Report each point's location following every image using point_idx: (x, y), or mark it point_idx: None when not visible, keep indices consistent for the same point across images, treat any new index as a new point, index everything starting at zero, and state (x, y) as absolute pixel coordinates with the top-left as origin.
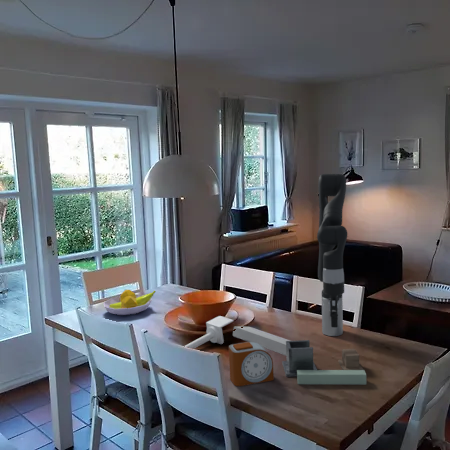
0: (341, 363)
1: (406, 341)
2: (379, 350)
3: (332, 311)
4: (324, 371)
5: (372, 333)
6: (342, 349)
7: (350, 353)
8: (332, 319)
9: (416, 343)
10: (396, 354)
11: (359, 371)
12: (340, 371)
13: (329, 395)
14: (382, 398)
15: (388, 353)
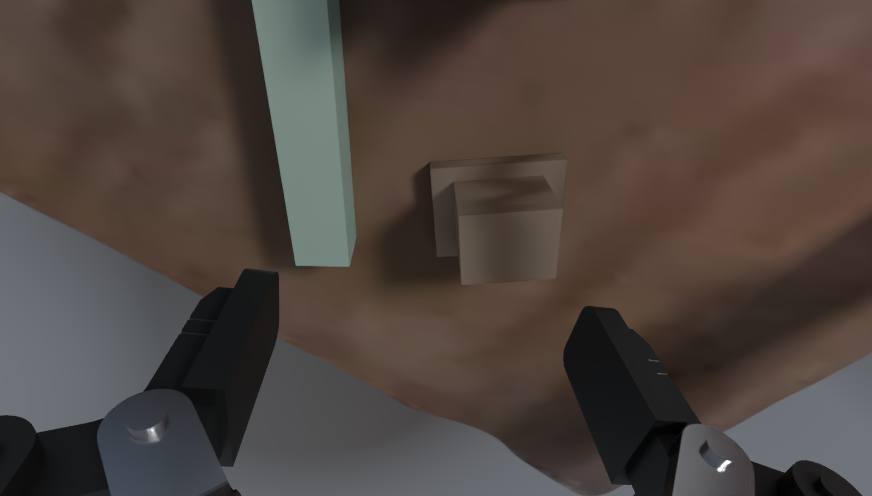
0: (513, 167)
1: None
2: None
3: (640, 415)
4: (306, 34)
5: (843, 358)
6: (561, 212)
7: (491, 246)
8: (157, 377)
9: None
10: None
11: (329, 242)
12: (318, 143)
13: (137, 27)
14: (186, 271)
15: None
